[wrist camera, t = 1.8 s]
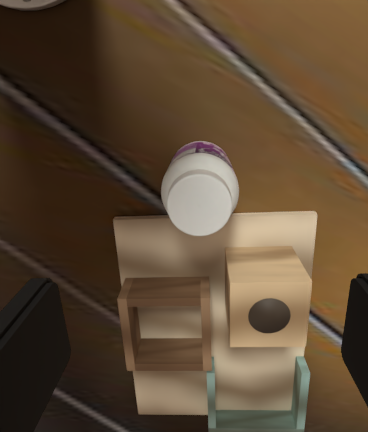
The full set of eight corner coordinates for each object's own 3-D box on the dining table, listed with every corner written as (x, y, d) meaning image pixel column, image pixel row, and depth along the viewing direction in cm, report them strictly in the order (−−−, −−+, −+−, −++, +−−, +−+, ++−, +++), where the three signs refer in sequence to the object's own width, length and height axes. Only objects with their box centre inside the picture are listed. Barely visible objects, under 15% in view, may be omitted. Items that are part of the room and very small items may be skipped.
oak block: (224, 247, 31) (230, 283, 25) (291, 245, 30) (312, 282, 25) (225, 303, 33) (230, 347, 27) (287, 302, 32) (306, 347, 27)
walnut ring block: (125, 277, 32) (117, 299, 29) (209, 276, 32) (209, 297, 29) (133, 344, 35) (127, 370, 32) (210, 344, 35) (211, 370, 31)
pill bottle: (244, 173, 29) (263, 211, 20) (198, 211, 30) (196, 263, 21) (202, 125, 28) (203, 143, 19) (156, 168, 29) (137, 203, 20)
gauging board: (115, 216, 31) (106, 229, 28) (314, 210, 30) (326, 223, 27) (139, 408, 39) (134, 432, 37) (296, 409, 38) (303, 434, 35)
